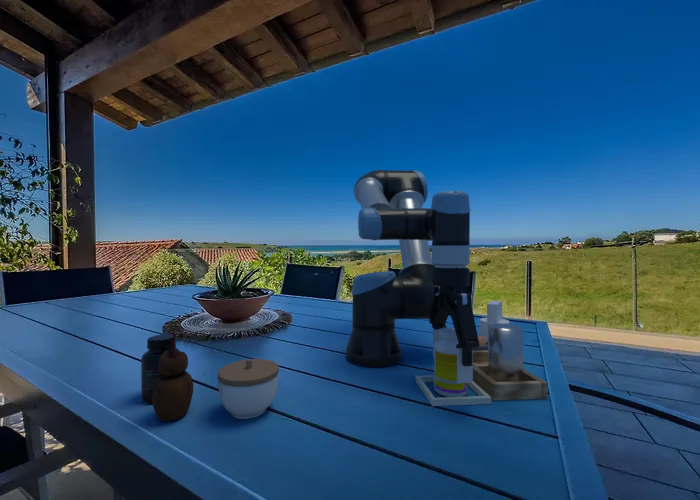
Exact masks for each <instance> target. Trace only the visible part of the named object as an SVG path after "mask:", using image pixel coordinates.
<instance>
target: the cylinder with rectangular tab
mask: <svg viewBox="0 0 700 500" xmlns="http://www.w3.org/2000/svg"><path fill="white" fill-rule="evenodd" d="M479 322H480V323H479V335H481V336H485V337H486V340H488V325H489V324H495V323H502V324H511V323H510V320H508V319H504V318H503V300H502V301H501V300H494V299H493V300H491V301H489V302H488V303H486V317H481V318H480V319H479Z"/></svg>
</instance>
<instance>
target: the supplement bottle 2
mask: <svg viewBox="0 0 700 500" xmlns="http://www.w3.org/2000/svg"><path fill="white" fill-rule="evenodd" d="M439 337H440V340H438V341H437V342H436V343H435V345H434V358H433V361H434V362H433V365H434V366H433V375H434V382H433V387H434V388H433V389H434V390H435V392H436V393H437V394H438V395H441V396H443V397H466V395H467V393H468V385H467V383H458V382H457V348H456V345H457V344H459V343H458V339H457V336H456V332H455V328H454V327H447V328H440V329H439Z"/></svg>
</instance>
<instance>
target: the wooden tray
mask: <svg viewBox="0 0 700 500" xmlns="http://www.w3.org/2000/svg"><path fill="white" fill-rule="evenodd" d="M473 382H475V383H476V384H477V385H478V386H479V387H480V388H481V389H482V390H483V391H485V392H486V393H487V394H488V395H489V396H490V397H491V398H492V401H515V400H518V401H519V400H521V401H523V400H547V399H548V382H546V381H544V380H543V379H541V378H540V377H538V376H536V375H535V374H533V373H531V372H530V371H528V370H527V369H525V368H523V381H513V382H496V381H495V380H493V379H492V378H491V377H490V376H488V350H480V351H473Z"/></svg>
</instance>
